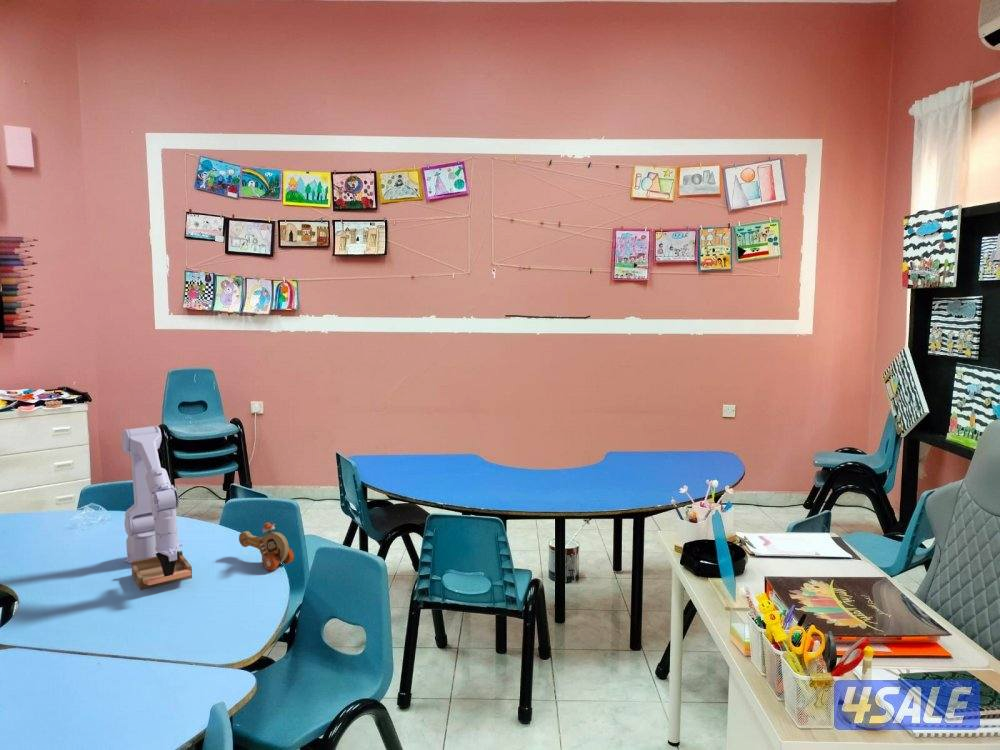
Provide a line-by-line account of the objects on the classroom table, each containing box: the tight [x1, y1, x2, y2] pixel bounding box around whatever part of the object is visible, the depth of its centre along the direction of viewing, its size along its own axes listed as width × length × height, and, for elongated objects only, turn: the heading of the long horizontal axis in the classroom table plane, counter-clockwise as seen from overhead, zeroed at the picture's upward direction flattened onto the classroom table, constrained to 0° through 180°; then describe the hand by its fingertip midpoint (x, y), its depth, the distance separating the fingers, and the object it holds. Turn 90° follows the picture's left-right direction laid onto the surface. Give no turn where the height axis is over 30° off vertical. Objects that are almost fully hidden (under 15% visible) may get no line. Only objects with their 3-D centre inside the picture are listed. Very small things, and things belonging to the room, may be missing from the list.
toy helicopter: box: [238, 522, 295, 572], centre depth 216 cm, size 8×21×14 cm, turn 60°
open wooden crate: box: [130, 550, 193, 591], centre depth 205 cm, size 12×14×4 cm
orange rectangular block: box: [144, 569, 193, 585], centre depth 199 cm, size 1×11×6 cm
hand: (168, 576), depth 198 cm, fingers closed, pressing on orange rectangular block
